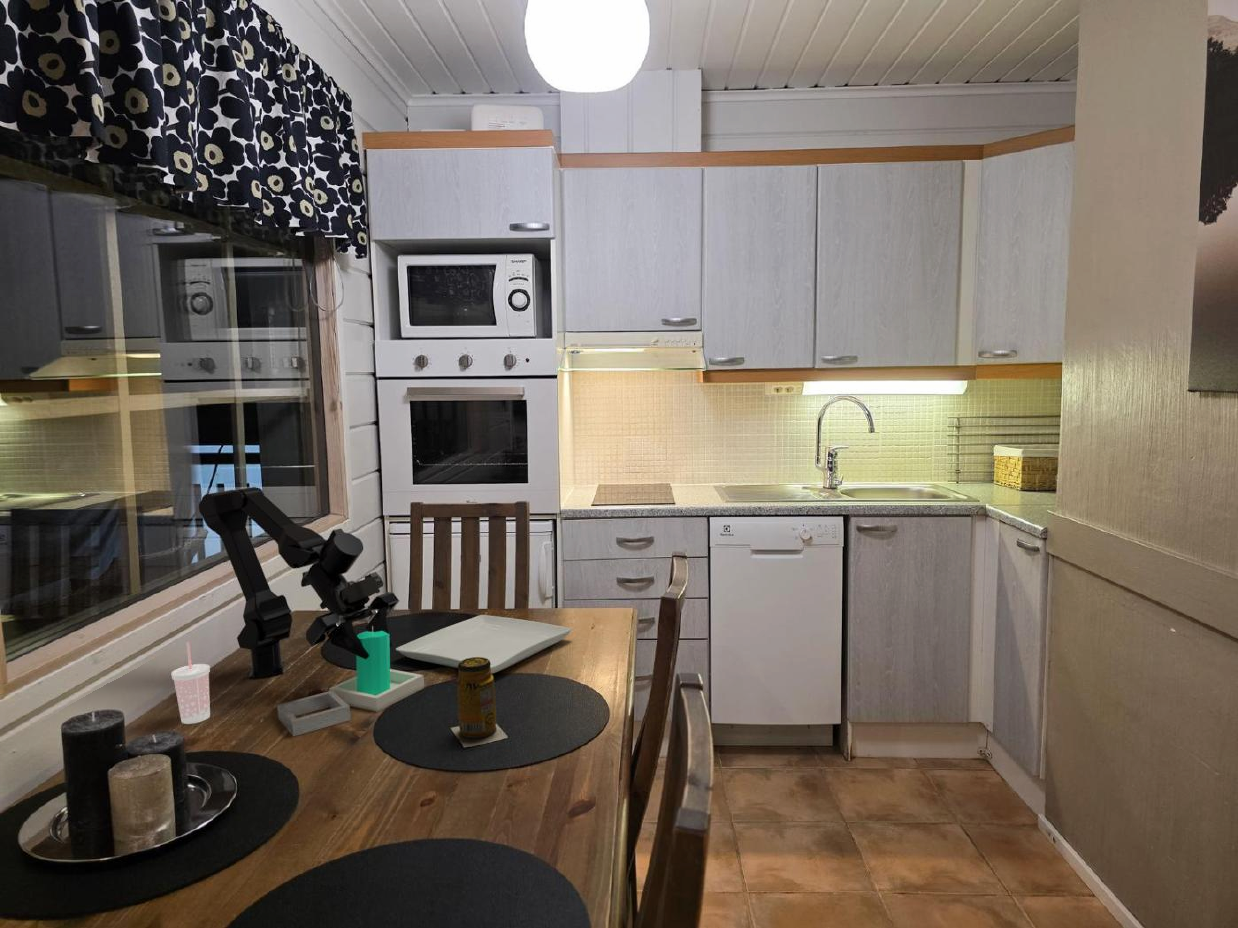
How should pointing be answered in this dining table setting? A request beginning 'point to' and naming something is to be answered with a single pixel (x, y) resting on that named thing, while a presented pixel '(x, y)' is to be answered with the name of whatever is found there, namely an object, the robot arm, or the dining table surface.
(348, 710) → the steel collar
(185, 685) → the beverage cup
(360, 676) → the candle
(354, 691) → the tray
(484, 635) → the square plate
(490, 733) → the condiment
